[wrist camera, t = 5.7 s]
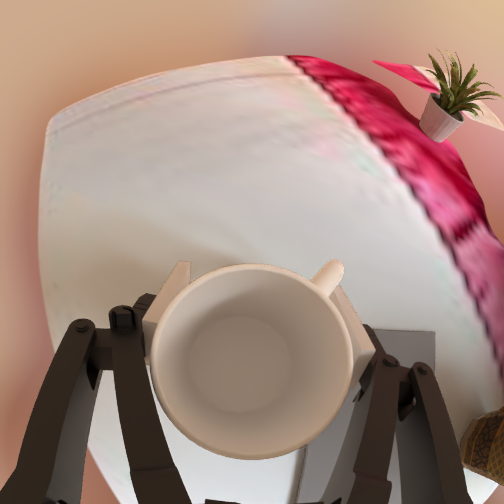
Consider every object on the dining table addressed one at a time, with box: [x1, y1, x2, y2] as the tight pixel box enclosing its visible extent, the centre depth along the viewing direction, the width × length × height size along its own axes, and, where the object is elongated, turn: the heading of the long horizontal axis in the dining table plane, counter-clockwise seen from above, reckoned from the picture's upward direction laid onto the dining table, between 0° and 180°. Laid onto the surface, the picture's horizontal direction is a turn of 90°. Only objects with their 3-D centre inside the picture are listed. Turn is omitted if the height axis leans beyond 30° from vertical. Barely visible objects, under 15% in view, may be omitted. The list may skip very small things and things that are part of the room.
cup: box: [150, 260, 353, 460], centre depth 15 cm, size 8×12×10 cm
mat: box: [295, 329, 435, 504], centre depth 17 cm, size 20×12×1 cm, turn 173°
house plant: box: [419, 51, 503, 143], centre depth 28 cm, size 14×14×16 cm
